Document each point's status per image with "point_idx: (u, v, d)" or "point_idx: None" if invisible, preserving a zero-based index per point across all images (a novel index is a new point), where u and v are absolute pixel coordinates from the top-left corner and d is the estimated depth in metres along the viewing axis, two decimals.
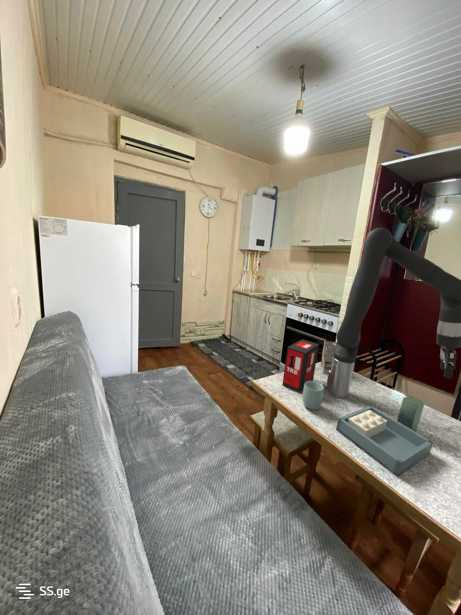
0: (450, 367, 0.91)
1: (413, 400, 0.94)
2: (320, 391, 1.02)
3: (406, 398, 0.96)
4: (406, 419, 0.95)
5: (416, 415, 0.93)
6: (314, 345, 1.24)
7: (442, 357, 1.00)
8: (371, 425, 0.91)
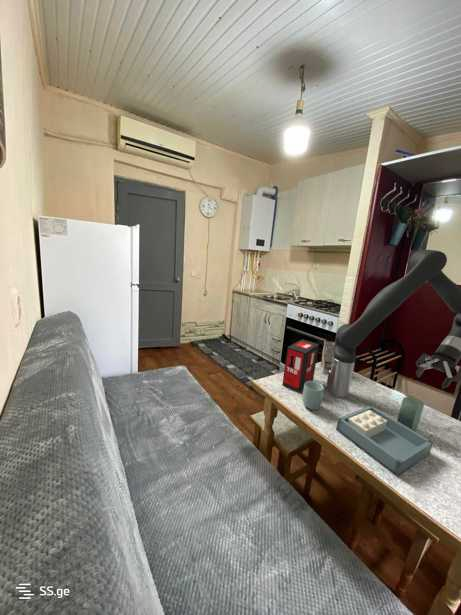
0: (458, 379, 0.93)
1: (413, 400, 0.94)
2: (320, 391, 1.02)
3: (406, 398, 0.96)
4: (406, 419, 0.95)
5: (416, 415, 0.93)
6: (314, 345, 1.24)
7: (427, 365, 1.01)
8: (371, 425, 0.91)
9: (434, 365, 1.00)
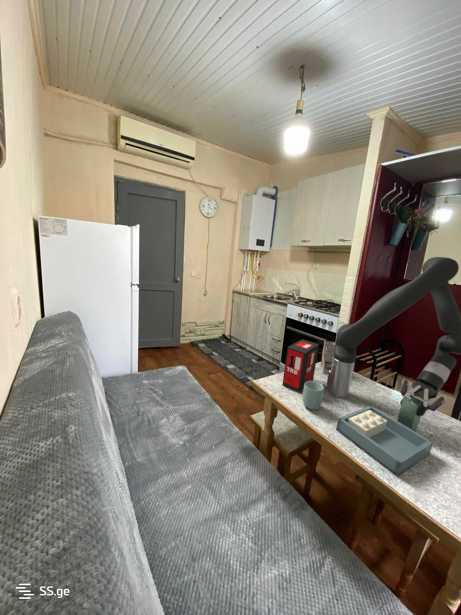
0: (433, 408, 0.91)
1: (413, 400, 0.94)
2: (320, 391, 1.02)
3: (406, 398, 0.96)
4: (406, 419, 0.95)
5: (416, 415, 0.93)
6: (314, 345, 1.24)
7: (411, 394, 0.98)
8: (371, 425, 0.91)
9: (418, 393, 0.97)
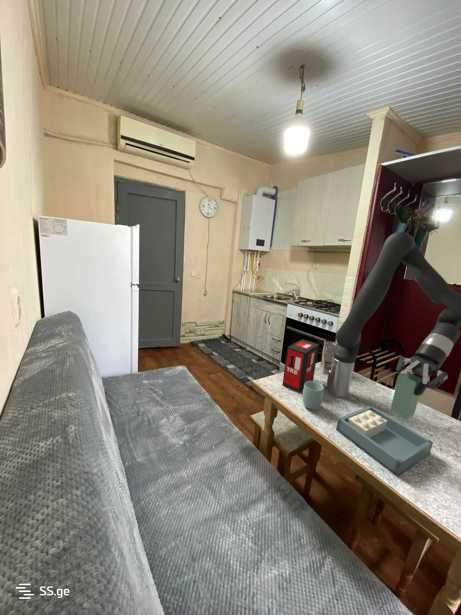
0: (434, 386, 0.78)
1: (411, 377, 0.81)
2: (320, 391, 1.02)
3: (402, 375, 0.82)
4: (402, 399, 0.82)
5: (414, 394, 0.80)
6: (314, 345, 1.24)
7: (408, 371, 0.84)
8: (371, 425, 0.91)
9: (416, 369, 0.83)
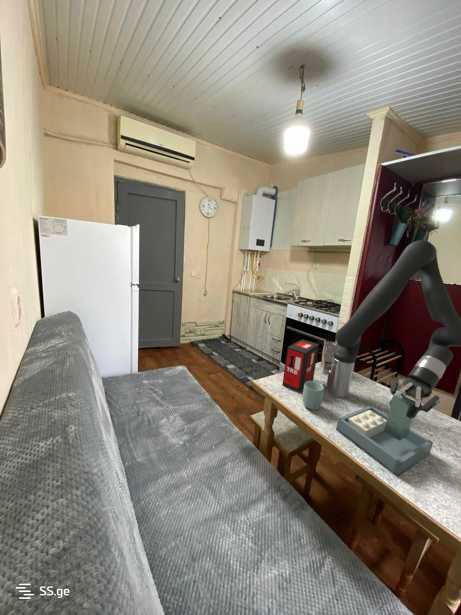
0: (426, 409, 0.79)
1: (404, 400, 0.82)
2: (320, 391, 1.02)
3: (396, 397, 0.84)
4: (396, 421, 0.83)
5: (407, 417, 0.81)
6: (314, 345, 1.24)
7: (402, 393, 0.86)
8: (371, 425, 0.91)
9: (409, 391, 0.85)
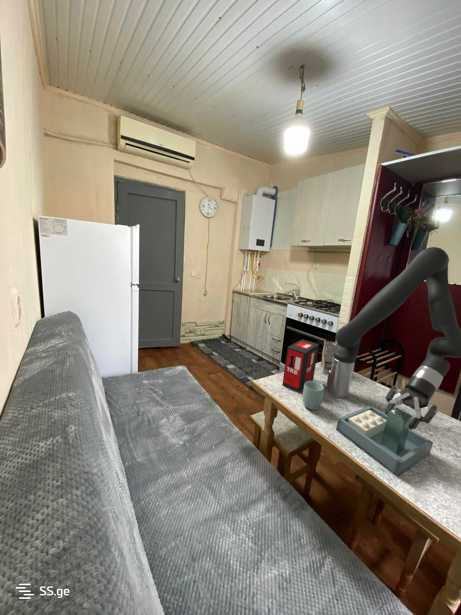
0: (427, 420, 0.80)
1: (400, 414, 0.83)
2: (320, 391, 1.02)
3: (392, 411, 0.85)
4: (392, 435, 0.84)
5: (403, 431, 0.82)
6: (314, 345, 1.24)
7: (397, 402, 0.87)
8: (371, 425, 0.91)
9: (405, 401, 0.86)
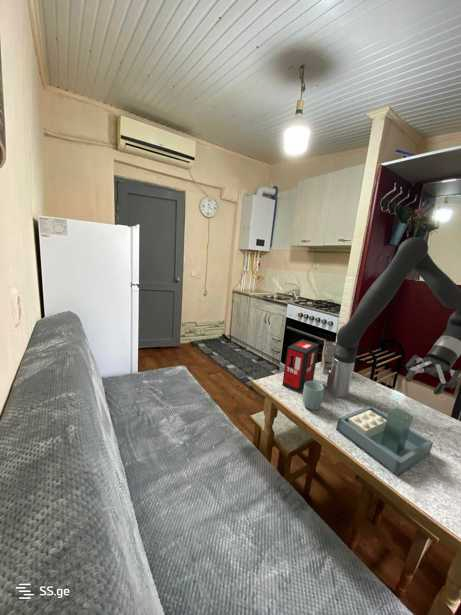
0: (453, 385, 0.82)
1: (400, 414, 0.84)
2: (320, 391, 1.02)
3: (392, 411, 0.85)
4: (392, 435, 0.84)
5: (403, 431, 0.82)
6: (314, 345, 1.24)
7: (418, 369, 0.90)
8: (371, 425, 0.91)
9: (426, 369, 0.88)
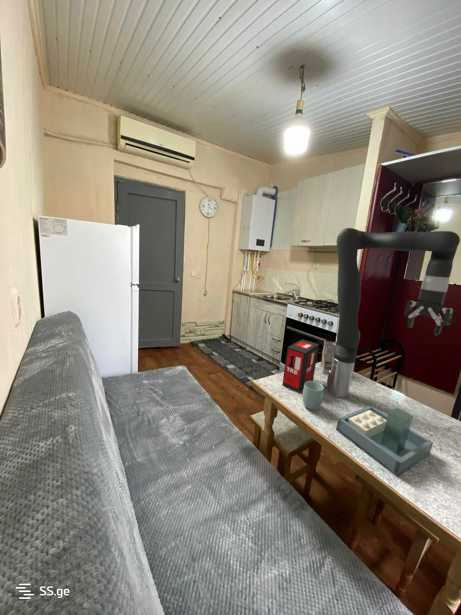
0: (448, 323, 0.89)
1: (400, 414, 0.84)
2: (320, 391, 1.02)
3: (392, 411, 0.85)
4: (392, 435, 0.84)
5: (403, 431, 0.82)
6: (314, 345, 1.24)
7: (415, 315, 0.97)
8: (371, 425, 0.91)
9: (421, 313, 0.95)
